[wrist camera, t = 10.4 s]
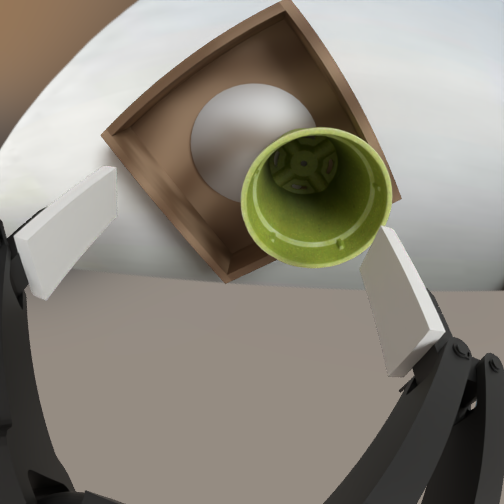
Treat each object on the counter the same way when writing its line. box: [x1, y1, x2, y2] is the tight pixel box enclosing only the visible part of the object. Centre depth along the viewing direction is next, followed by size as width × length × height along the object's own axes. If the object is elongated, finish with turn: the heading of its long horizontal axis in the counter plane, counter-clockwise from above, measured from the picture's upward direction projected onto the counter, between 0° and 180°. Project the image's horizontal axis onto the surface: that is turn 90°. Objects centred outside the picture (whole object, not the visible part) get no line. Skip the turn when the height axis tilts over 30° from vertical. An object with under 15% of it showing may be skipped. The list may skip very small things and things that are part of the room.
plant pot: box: [241, 127, 392, 268], centre depth 20 cm, size 9×9×9 cm
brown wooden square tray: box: [101, 0, 402, 284], centre depth 23 cm, size 18×18×4 cm
